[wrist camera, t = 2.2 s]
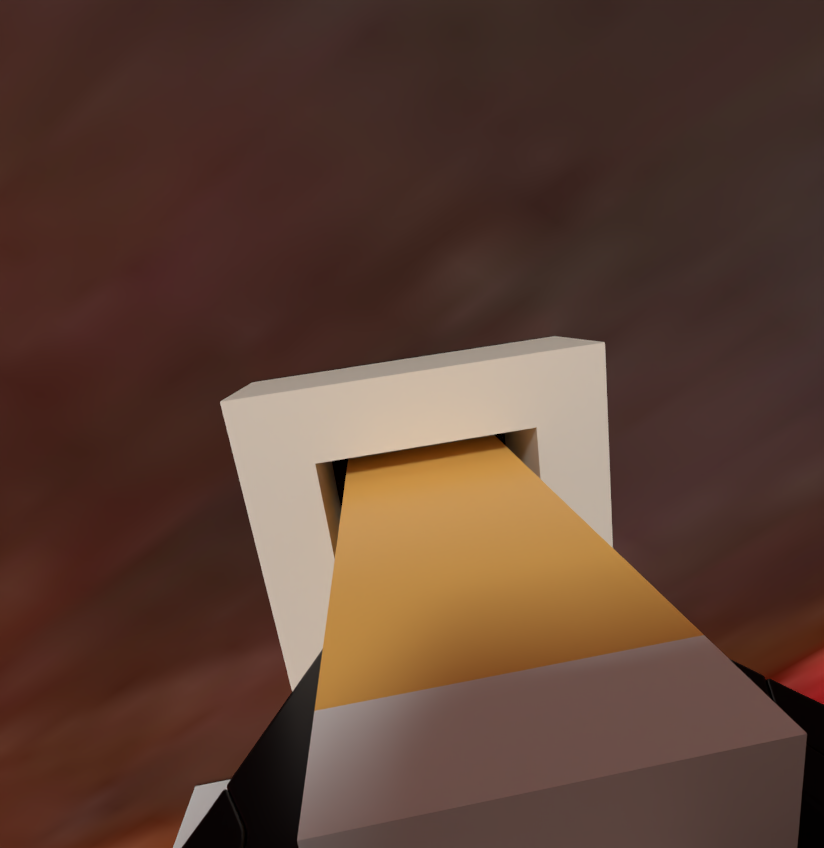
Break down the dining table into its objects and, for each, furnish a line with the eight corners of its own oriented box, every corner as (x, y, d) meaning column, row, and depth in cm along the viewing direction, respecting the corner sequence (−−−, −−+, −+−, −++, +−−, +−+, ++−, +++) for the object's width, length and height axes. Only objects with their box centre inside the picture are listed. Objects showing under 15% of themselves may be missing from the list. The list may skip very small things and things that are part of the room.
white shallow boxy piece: (554, 336, 11) (605, 342, 9) (574, 641, 14) (619, 711, 11) (252, 382, 11) (219, 402, 9) (322, 689, 13) (312, 773, 11)
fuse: (484, 425, 12) (807, 733, 3) (502, 594, 13) (770, 1153, 4) (349, 447, 12) (296, 841, 3) (380, 616, 13) (407, 1248, 4)
